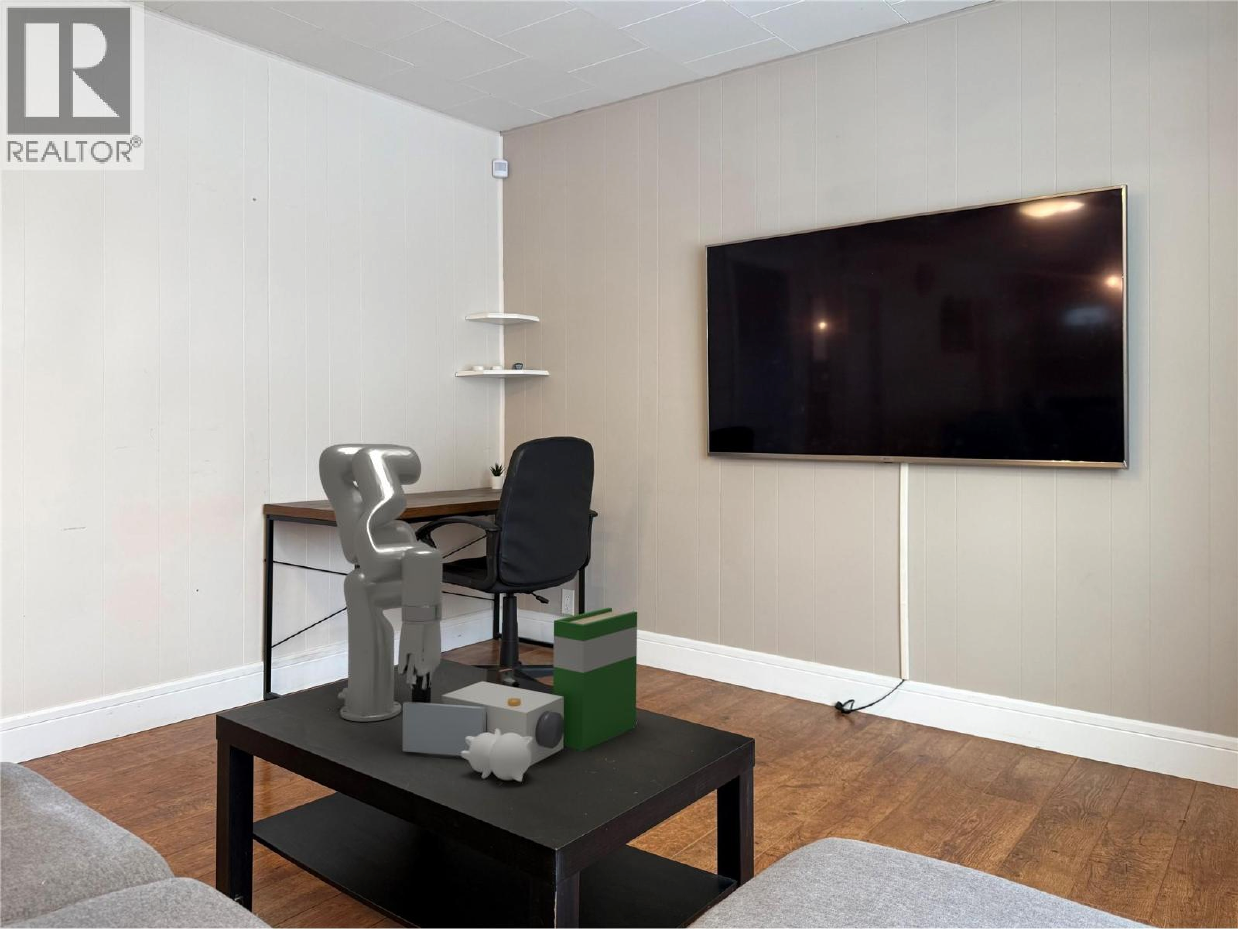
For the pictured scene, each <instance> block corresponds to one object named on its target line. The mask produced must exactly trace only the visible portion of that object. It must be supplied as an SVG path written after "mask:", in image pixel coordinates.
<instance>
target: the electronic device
mask: <svg viewBox="0 0 1238 929" xmlns="http://www.w3.org/2000/svg"><path fill="white" fill-rule="evenodd" d="M485 682H488V683H493V684H499V685H504V686H509V687H515V688H519V687H520V683H519V681H516V680H515V674H514V670H513V669H512V668H506V667H495V668H489V669H487V670H486V680H485Z"/></svg>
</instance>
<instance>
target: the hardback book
mask: <svg viewBox="0 0 1238 929" xmlns="http://www.w3.org/2000/svg"><path fill="white" fill-rule="evenodd" d="M637 637H638V611H631V612H626V613H619V612H613V608H612V607H605V608H602V609H596V610H592V611H589V612H584V613H581V614H577V615H573V616H572V615H571V616H568V617H563V618H560V619H559V618H558V619H554V620H553V667H552V668H553V672H552V673H553V676H552V678H553V679H552V681H553V682H552V683H553V684H552V685H553V686H552V691H553V692H552V695H557V696H563V697H564V731H563V747H565V746H566V747H565V748H569V749H572V750H573V749H574V750H576V749H577V750H576V751H581V752H584V751H586V750H588V748H589V749H591V748H593V747H596V746H598V745H600V744H602V743H604V741H605V740H607V739H609V740H611V739H613V738H612V737H614V736H616V737H617V736H620V735H622V734H621V733H623V732H625V733H627V732H629V731H628V730H629V729H632V728H633V727H635V726H636V727H637V724H636V723H637V667H638V666H637V662H638V661H637V658H638V654H637V653H638V651H637V650H638V647H637V646H638V638H637ZM632 730H633V729H632ZM626 731H627V732H626ZM619 734H620V735H619ZM623 734H624V733H623ZM610 738H611V739H610ZM614 738H615V737H614ZM607 741H608V740H607ZM605 742H606V741H605ZM599 743H600V744H599ZM597 744H598V745H597ZM592 746H593V747H592ZM590 747H591V748H590ZM585 749H586V750H585Z"/></svg>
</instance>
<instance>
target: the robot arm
mask: <svg viewBox="0 0 1238 929" xmlns="http://www.w3.org/2000/svg"><path fill="white" fill-rule="evenodd" d="M318 472H319V479H320V483H321V486H322V489H323V492H324V493H325V496H326V498H327V499H328V502H329V503H330V505H331V508H332V510H333V512H334V515H335V521H336V522H335V523H336V525H337V531H338V536H339V540H340V545H341V550H342V553H343V556H344V558H345V560H346V561H347V562H348V563H349V564H351V565H355V566H356V565H357V566H359V567H357V568H355V569H352V570H351V571H349V573H347V575H346V576H345V577H344V581H343V595H344V601H345V606H346V612H347V613H346V614H347V629H348V630H347V634H348V636H347V642H348V643H347V644H348V645H347V647H348V648H347V649H348V650H347V652H348V653H347V672H348V673H347V687H344V688H343V689H342V691H341V692H338V694H337V698H338V699H339V700H344V705H343V706H342V707H341V708H340V712H339V715H340V717H341V718H343V719H344V720H348V721H351V722H360V723H361V722H362V723H363V722H367V723H368V722H376V721H378V722H379V721H382V720H388V719H391V718H394V717H396V716H399V715H400V714H401V712H402V705H401V704H400V703H399V702H398V701H395V630H394V627H393V625H392V623H391V621H390V620H389V619H388V617H386V616H385V614H384V611H387V610H391V609H401V623H402V624H401V628H400V634H399V642H398V656H397V657H398V658H397V673H398V675H399V676H405V675H406V684H407V685H410V689H411V702H419V703H432V701H431V700H432V699H431V698H432V687H431V686H432V684H433V673H434V672H436V670H437V669H436V668H437V667H439V665H440V663H441V660H442V634H441V633H442V632H441V622H442V621H443V554H442V551H441V550H440V549H438V548H435V547H431V546H430V545H428V544H427V543H425V542H419V541H418V540H417V536H416V533H415V530H414V529H413V527H412V526H411V525H410V524H409V523H408V522H406V521H404V520H397V518H400V516H401V515H402V514H403V513H404V512H405V510H406V509H407V506H408V500H407V496H406V495H405V491H404V489H403V486H409V485H413V484H416V483H417V482H418V481H419V479H420V477H421V474H422V464H421V459H420V457H419V455H418V453H417V452H416V451H415V449H413V448H412V447H410V446H406V445H405V446H404V445H399V444H393V443H339V444H333V445H330V446H329V447H326V448H325V449H324V450H322V452H321V454H320V456H319V460H318ZM354 482H355V483H354Z"/></svg>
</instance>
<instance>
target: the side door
mask: <svg viewBox="0 0 1238 929" xmlns="http://www.w3.org/2000/svg"><path fill="white" fill-rule="evenodd" d="M482 733H486V707H477V706H462V705H448V704H441V703H433V702H431V703H419V702H412V701H404V702H403V703H402V751H403V752H410V753H424V754H435V755H450V756H460V757H462V756H461V752H462V751H464V750H466V751H469V748H470V746H469V745H468V744H467V743H466V741H465V738H466V737H467V736H472V737H476V736H478V735H480V734H482Z"/></svg>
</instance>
